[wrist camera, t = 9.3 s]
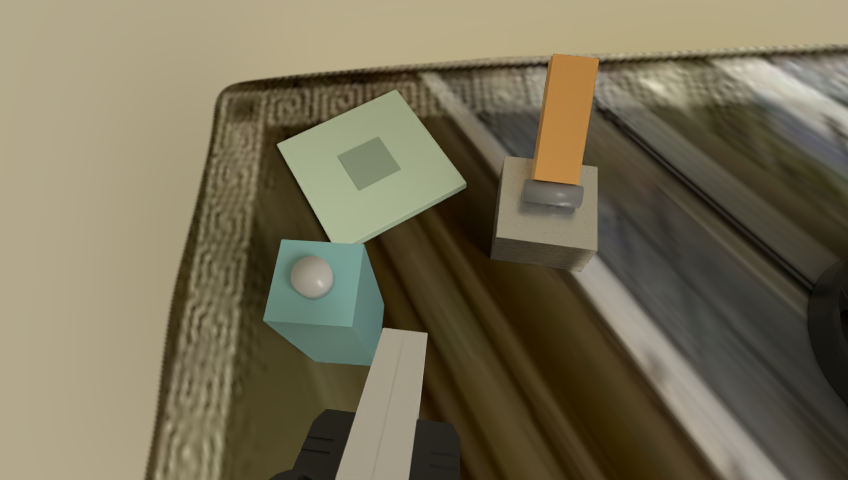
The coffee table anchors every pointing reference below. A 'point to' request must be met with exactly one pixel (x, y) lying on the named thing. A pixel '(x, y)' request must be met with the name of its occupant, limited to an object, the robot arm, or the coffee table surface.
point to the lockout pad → (370, 169)
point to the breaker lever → (562, 132)
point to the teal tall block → (326, 301)
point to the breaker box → (543, 222)
